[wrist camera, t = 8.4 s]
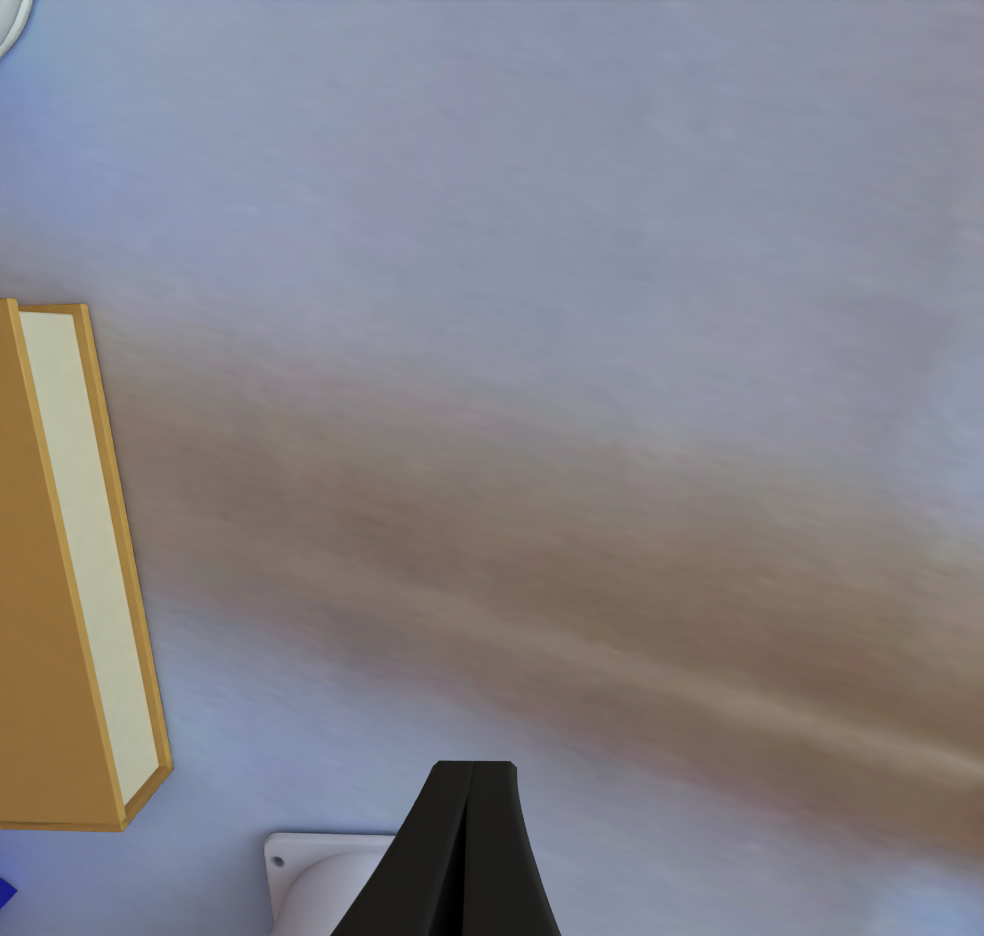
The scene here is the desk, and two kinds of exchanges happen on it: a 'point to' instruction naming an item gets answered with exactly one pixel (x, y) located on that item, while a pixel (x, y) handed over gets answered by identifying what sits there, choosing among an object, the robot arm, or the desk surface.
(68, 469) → the book
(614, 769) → the desk surface
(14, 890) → the blue cradle bracket
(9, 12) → the trinket box
